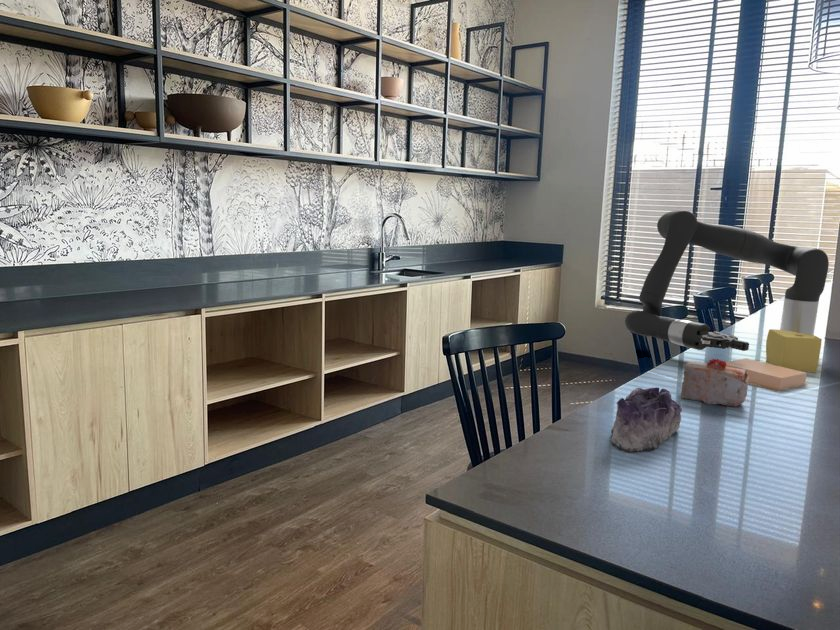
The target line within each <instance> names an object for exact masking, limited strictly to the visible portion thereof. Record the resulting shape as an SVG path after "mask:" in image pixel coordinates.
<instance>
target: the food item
mask: <svg viewBox="0 0 840 630" xmlns="http://www.w3.org/2000/svg"><path fill="white" fill-rule="evenodd" d="M725 362H726V361H725V360H721V359H716V358H715V359H714V358H711V359H709V362H708V363H706V362H697V361H693V360H689V361H686V362H685V363H684V369H683V381H682V383H681V392H680V398H681V399H682V400H683V399H684V400H691V401H697V402H704V403H705V404H707V405H720V404H721V405H722V406H725V407H726V406H727V407H738V406H739V405H740V406H742V404H744V403H745V401H746V399H747V396H748V389H749V385H750V384H749V377H748V373H747V371H746V370H745V369H737V368H731V367H725V366H727V365H726V363H725Z"/></svg>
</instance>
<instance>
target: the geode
mask: <svg viewBox="0 0 840 630" xmlns="http://www.w3.org/2000/svg"><path fill="white" fill-rule="evenodd" d="M616 404H617V405H616V406H617V410H616V415H615V419H614V422H613V426H612V429H611V434H612V437H611V440H610V441H611V446H612V447H614V448H616V449H618V450H619V451H620V452H621V451H622V452H624V453H630V454H631V453H633V454H634V453H645V452H652V451H655V450H656V449H657V448H658V447H659V446H661V445H662V444H663V443H664V442H666V441H667V439H670V438H671V436H673V435H674V434H675V433H676V431H677V430H678V429H679V428H680V425H681V422H682V415H681V413H682V410H683V409H682V407H681V406H680V404H679V403H678V402H677V401H676V400H674V399H673V398H672V393H671V392H670V390H668V389H666V388H661V389H660V388H659V387H651V388H644V389H643V388H642V387H635V389H633V390H632V391H631V392H630V393H629V395H627V396H626V397H625V398H623V397H621V398H620V399H619V400H617V402H616Z"/></svg>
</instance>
